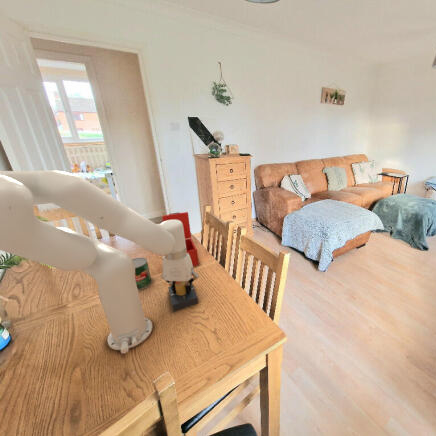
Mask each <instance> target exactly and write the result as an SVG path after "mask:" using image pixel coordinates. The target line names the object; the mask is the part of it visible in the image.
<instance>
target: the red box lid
mask: <svg viewBox="0 0 436 436" xmlns="http://www.w3.org/2000/svg"><path fill="white" fill-rule="evenodd" d="M161 218H162V222H164V221H167V220H179V221H181V222H182V224H183V229H184V236H185V239H190V238H191V239H192V232H191V226H190V217H189V212H188V211H185V212H172V213H168V214H165V215H161Z"/></svg>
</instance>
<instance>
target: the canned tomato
mask: <svg viewBox="0 0 436 436" xmlns="http://www.w3.org/2000/svg"><path fill="white" fill-rule="evenodd" d="M131 259H132V260H133V262H134V265H135V280H136V285H137V289H138V291H139V290H143V289H146V288H148V287H149V286H151V284H152V282H153V280H152V276H151V272H150V268H149V263H148V259H147V258H145V257H134V258H131Z"/></svg>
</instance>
